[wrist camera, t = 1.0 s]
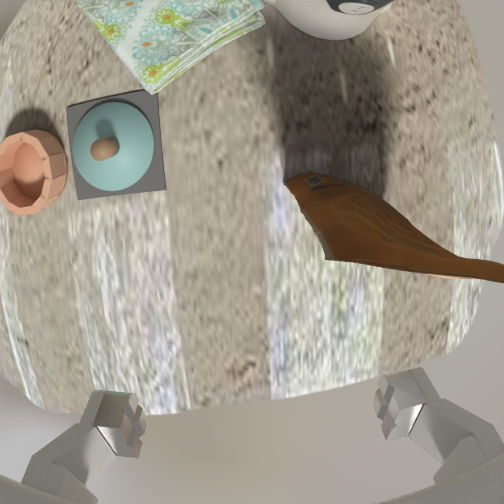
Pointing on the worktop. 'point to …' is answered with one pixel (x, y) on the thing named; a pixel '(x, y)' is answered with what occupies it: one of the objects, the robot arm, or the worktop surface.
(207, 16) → the towel
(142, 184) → the mat
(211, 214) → the worktop surface
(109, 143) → the lid
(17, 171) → the bowl
